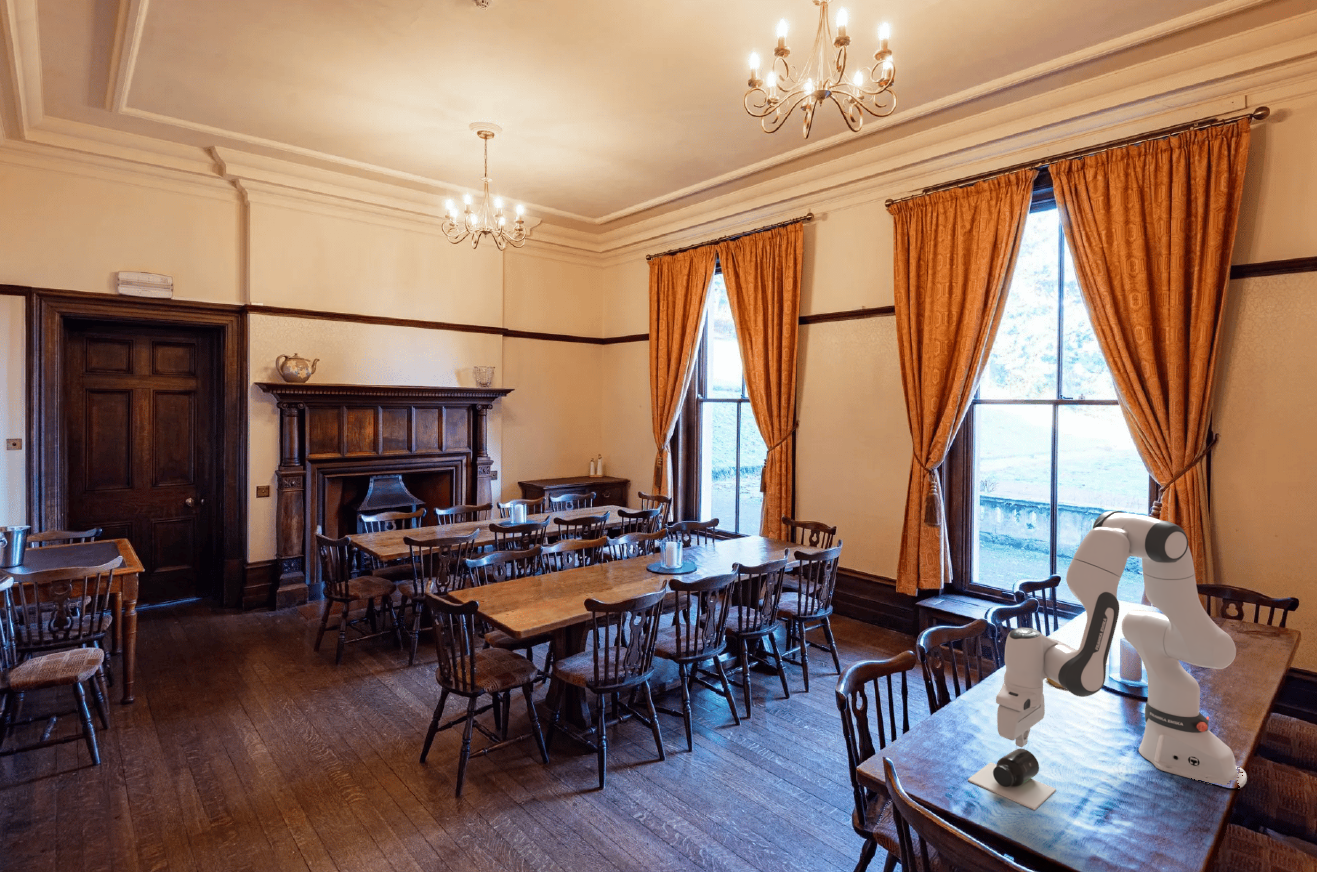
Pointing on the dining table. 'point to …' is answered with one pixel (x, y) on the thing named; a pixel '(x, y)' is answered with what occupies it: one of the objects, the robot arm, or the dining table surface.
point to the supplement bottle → (1016, 768)
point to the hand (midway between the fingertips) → (1021, 744)
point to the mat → (1013, 788)
